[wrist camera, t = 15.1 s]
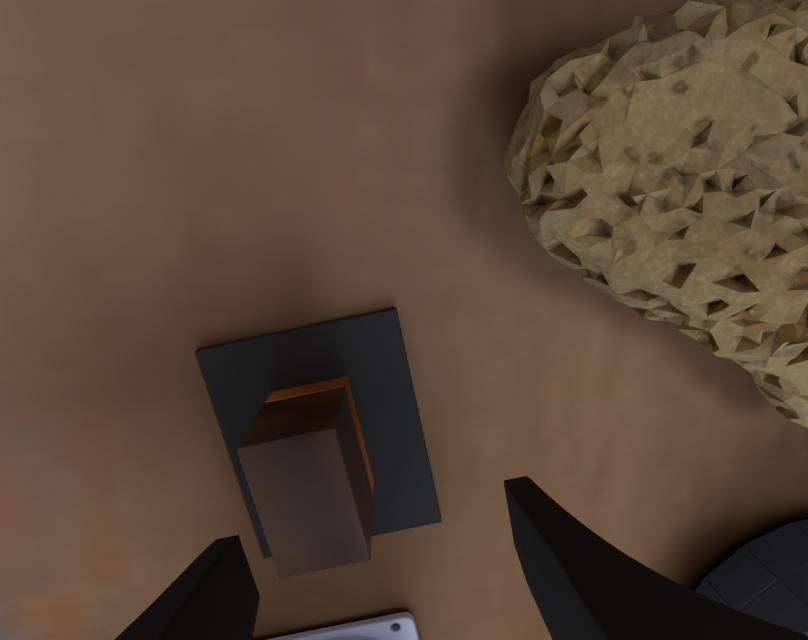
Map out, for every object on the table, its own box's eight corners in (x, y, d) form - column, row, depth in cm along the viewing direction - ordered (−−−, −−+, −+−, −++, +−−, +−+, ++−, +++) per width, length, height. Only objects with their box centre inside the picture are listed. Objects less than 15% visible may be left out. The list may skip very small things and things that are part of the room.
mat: (265, 552, 23) (263, 558, 22) (197, 348, 20) (194, 351, 20) (441, 516, 23) (441, 522, 22) (396, 307, 20) (396, 309, 20)
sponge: (921, 265, 22) (782, -176, 14) (1164, 358, 15) (1161, -396, 7) (669, 411, 26) (450, 133, 18) (772, 536, 19) (492, 179, 11)
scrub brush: (302, 496, 22) (278, 578, 17) (271, 391, 20) (235, 448, 16) (374, 481, 22) (371, 560, 17) (347, 375, 20) (335, 428, 16)
